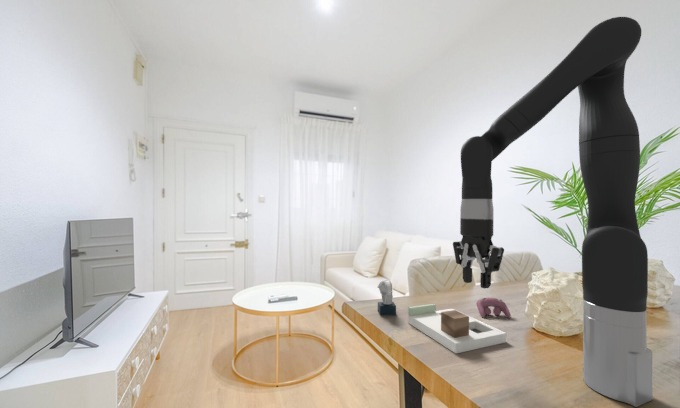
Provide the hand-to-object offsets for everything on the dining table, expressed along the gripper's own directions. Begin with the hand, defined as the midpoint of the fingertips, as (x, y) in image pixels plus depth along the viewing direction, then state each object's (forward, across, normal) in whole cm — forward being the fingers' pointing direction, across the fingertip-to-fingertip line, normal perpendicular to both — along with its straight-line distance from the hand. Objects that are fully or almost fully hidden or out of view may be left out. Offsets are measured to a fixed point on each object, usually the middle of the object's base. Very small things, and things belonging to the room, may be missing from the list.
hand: (476, 284), depth 70 cm
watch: (+18, +32, +6) cm, 37 cm away
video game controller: (+18, +18, -27) cm, 37 cm away
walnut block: (+15, +7, 0) cm, 16 cm away
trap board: (+17, +12, -4) cm, 22 cm away
